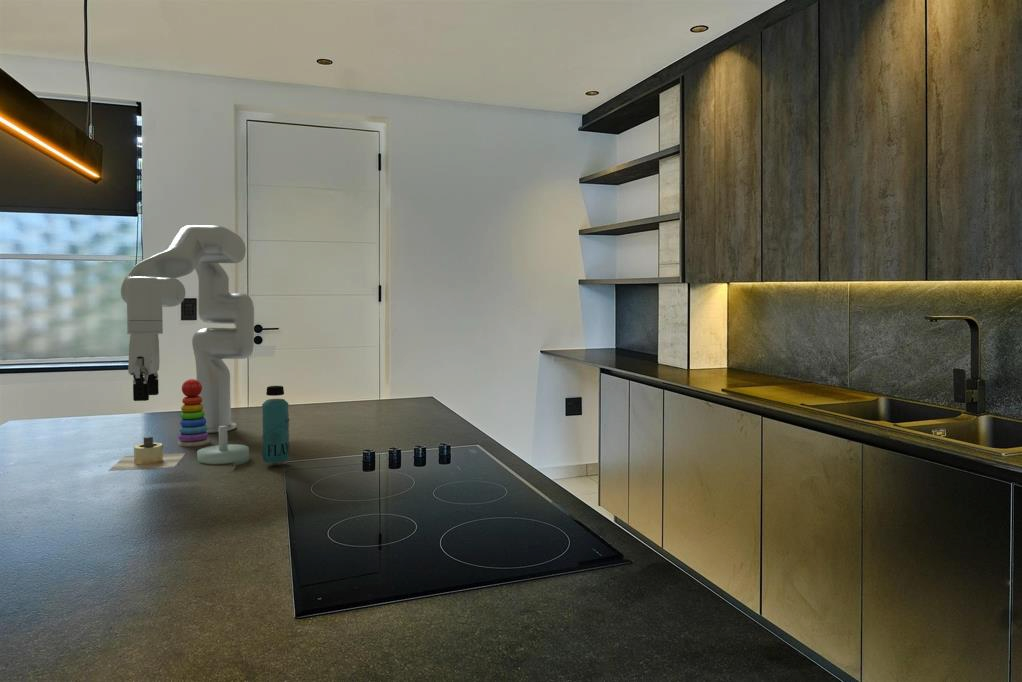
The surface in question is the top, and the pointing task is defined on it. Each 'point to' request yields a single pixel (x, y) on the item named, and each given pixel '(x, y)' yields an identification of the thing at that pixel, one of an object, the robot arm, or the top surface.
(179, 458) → the oak stand
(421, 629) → the top surface
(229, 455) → the sage hub
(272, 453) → the beverage bottle
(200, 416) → the stacking toy
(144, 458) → the brass ring
